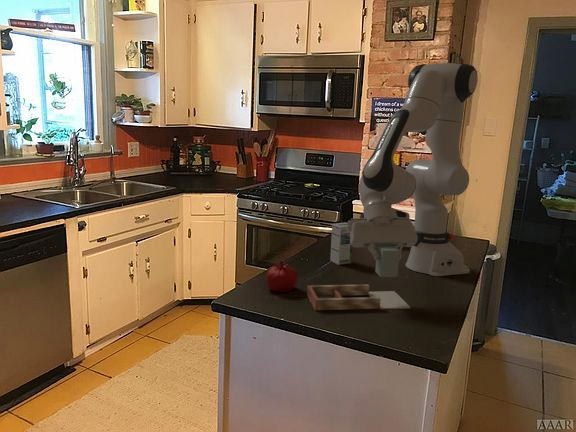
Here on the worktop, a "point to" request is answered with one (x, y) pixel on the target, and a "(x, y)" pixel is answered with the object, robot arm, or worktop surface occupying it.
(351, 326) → the worktop surface
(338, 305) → the wooden divided tray
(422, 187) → the robot arm
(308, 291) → the box
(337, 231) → the syrup box
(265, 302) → the worktop surface
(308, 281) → the worktop surface
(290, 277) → the pomegranate
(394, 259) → the grey-green block
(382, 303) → the pad
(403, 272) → the worktop surface
